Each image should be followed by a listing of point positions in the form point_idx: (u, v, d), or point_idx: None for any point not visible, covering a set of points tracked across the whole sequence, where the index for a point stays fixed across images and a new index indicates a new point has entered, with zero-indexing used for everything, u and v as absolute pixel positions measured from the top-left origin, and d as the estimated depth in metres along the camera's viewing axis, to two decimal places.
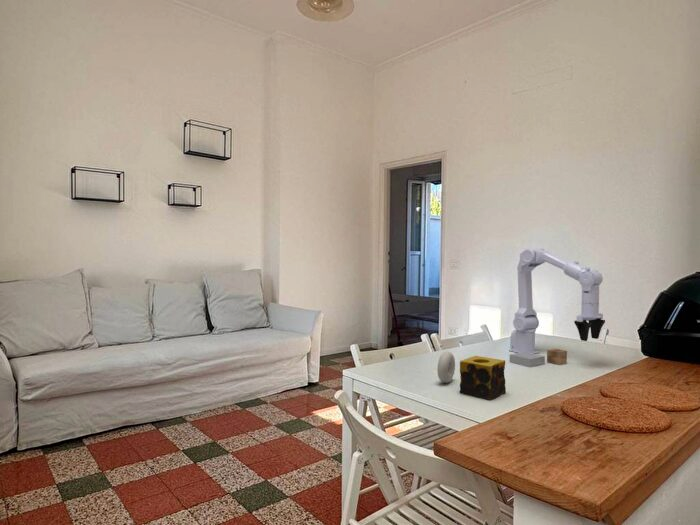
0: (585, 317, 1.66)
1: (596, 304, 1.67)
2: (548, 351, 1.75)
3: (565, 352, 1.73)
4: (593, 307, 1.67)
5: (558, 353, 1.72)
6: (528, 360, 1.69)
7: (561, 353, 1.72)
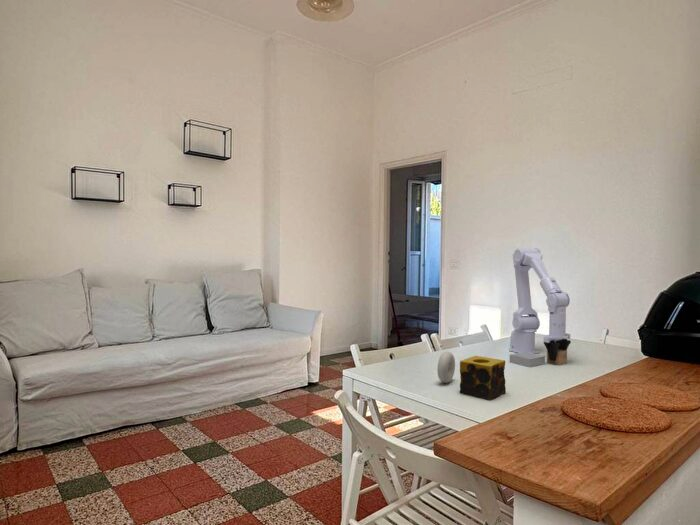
0: (552, 338, 1.71)
1: (563, 325, 1.72)
2: None
3: (565, 352, 1.73)
4: (560, 328, 1.72)
5: (558, 353, 1.72)
6: (528, 360, 1.69)
7: (561, 353, 1.72)
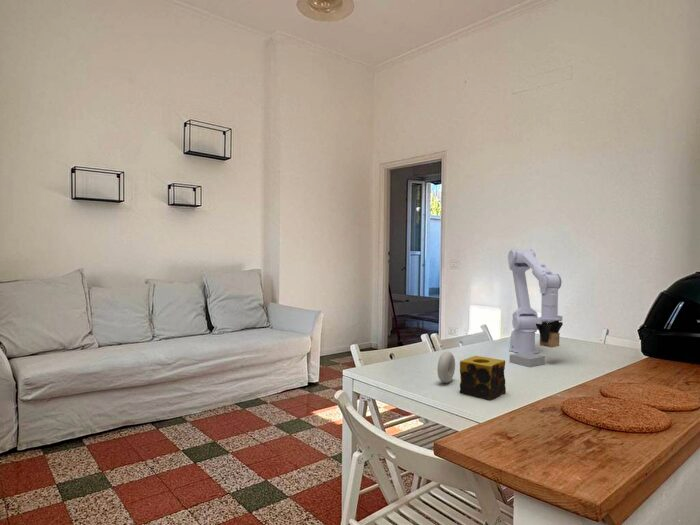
0: (544, 319, 1.70)
1: (555, 307, 1.72)
2: None
3: (558, 334, 1.73)
4: (552, 310, 1.71)
5: (551, 335, 1.71)
6: (528, 360, 1.69)
7: (554, 335, 1.72)
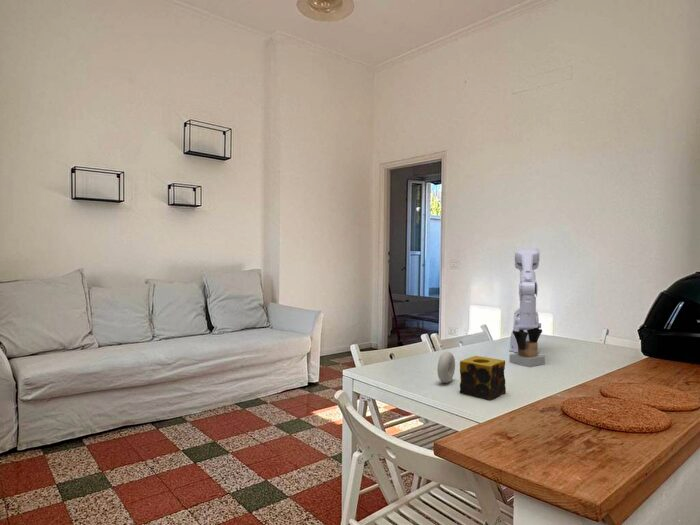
0: (521, 327, 1.70)
1: (532, 314, 1.71)
2: None
3: (536, 344, 1.73)
4: (529, 317, 1.71)
5: (528, 345, 1.71)
6: (528, 360, 1.69)
7: (531, 345, 1.71)
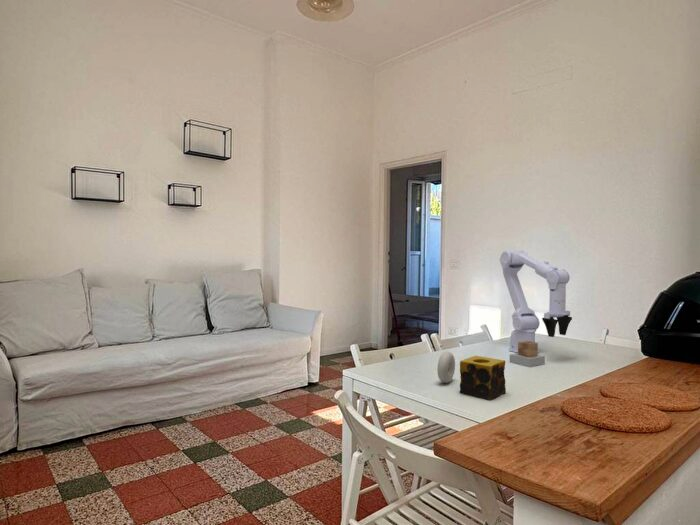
0: (552, 314, 1.74)
1: (562, 302, 1.75)
2: (519, 343, 1.74)
3: (536, 344, 1.73)
4: (560, 305, 1.75)
5: (528, 345, 1.71)
6: (528, 360, 1.69)
7: (531, 345, 1.71)
